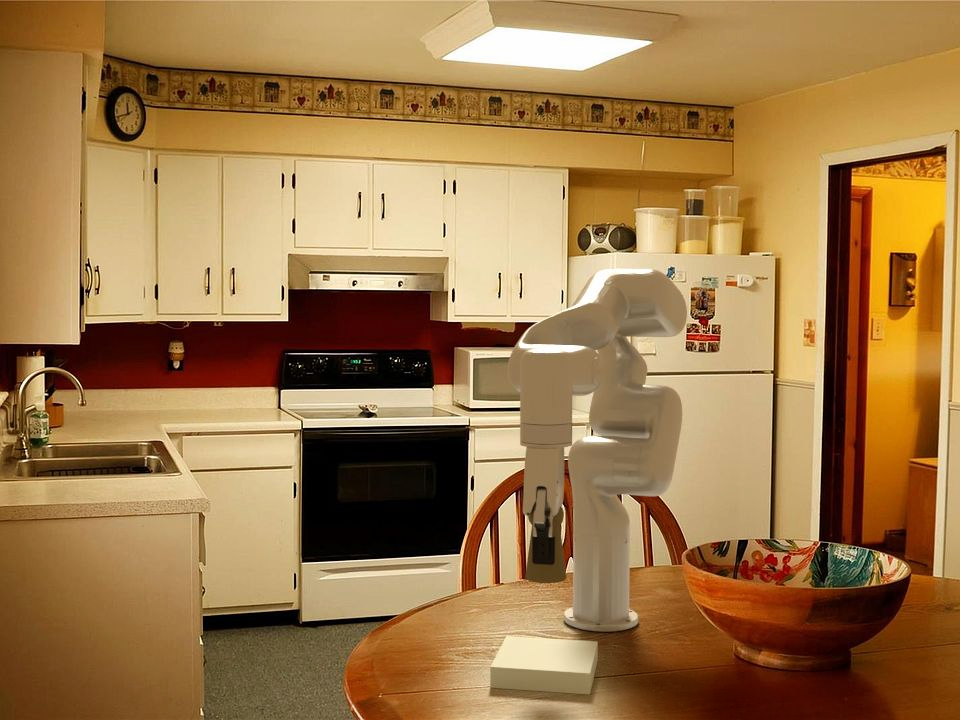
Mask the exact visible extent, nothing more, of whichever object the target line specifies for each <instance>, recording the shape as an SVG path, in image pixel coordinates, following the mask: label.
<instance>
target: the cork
mask: <svg viewBox="0 0 960 720" xmlns="http://www.w3.org/2000/svg"><path fill="white" fill-rule="evenodd" d="M533 507H534V506H533ZM545 515H550V511H545ZM533 516H534V509H533V510H532V512H531V513H530V514H529V515H528V516H527V517H528V521H529V523H530V524H531V531H530V536H529V537H530V538H529V539H530V540H529V546H528V552H527V560H526V561H527V562H526V567H525V575H524V576H525V577H524V578H525V580H527V581H529V582H533V583H537V584H538V583H539V584H555V583H561V582H564V581H566V580H567V572H566V571H567V570H566V564H565V555H564V548H563V546H564V545H563V539H562V531H561V525H562V524H563V521H564V517H565V512H564V509H563V506H562V507H561V506H560V509H559V512H558V513H557V514H556V515H555V516H554V518H553V536H554V537H555V563H554V564H553V565H544V564H534V563H533V562H532V536H533V520H534V517H533ZM546 521H548V523H549V519H546ZM548 526H549V525H548Z"/></svg>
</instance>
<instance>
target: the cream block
mask: <svg viewBox="0 0 960 720" xmlns="http://www.w3.org/2000/svg"><path fill="white" fill-rule="evenodd" d="M598 645H599V642H598V641H596V640H578V639H563V638H545V637H531V636H530V637H529V636H528V637H527V636H515V635H514V636H513V635H512V636H511V635H506V636H505V638H504V640H503V642H502V644H501V646H500V647H499V649H498V651H497V653H496V655H495V657H494V659H493V661H492V663H491V665H490V666H489V667H490V668H489V669H490V674H489V675H490V676H489V677H490V678H489V679H490V681H489V683H490V684H489V686H490V688H491V689H505V690H517V691H519V690H520V691H533V692H544V693H546V692H547V693H562V694H563V693H564V694H576V695H591V691H592V686H593V683H594V678H595V673H596V669H597V665H598V660H599V657H598V655H599V654H598V650H599V648H598V647H599V646H598Z"/></svg>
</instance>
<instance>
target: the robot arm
mask: <svg viewBox="0 0 960 720" xmlns="http://www.w3.org/2000/svg"><path fill="white" fill-rule="evenodd" d="M687 307H688V306H687V304H686V300H685V298H684V295H683V293H682V292H681V291H680V289H679V288H678V286H677V285H676V284H675V283H674V282H673V280H672V279H671V278H670V277H668V275H666V274H665V273H663V272H662V271H660V270H659V269H658V270H657V269H653V268H633V269H632V268H614V269H610V268H609V269H603V270H600V271H598V272H596V273H594V274H593V275H591V277H590V278H589V279H588V280H587V282H586V283H585V285H584V286H583V288H582V290H581V291H580V293H579V294H578V296H577V298H576V299H575V300H574V302H573V304H572V305H571V307H568V308H566V309H564V310H561V311H559V312H557V313H555V314H553V315H551V316H548V317H547V318H544V319H542V320H539V321H538V322H536V323H534V324H533V325H531V326H530V327H528V328H527V329H526V330H525V331H524V333H523V334H522V335H521V336H520V338H519V339H518V341H517V342H516V344H515V345H514V347H513V349H512V350H511V353H510V356H509V359H508V361H507V362H508V363H507V378H508V380H509V383H510V386H511V387H512V388H513V389H515V390H516V391H517V392H519V398H520V399H519V400H520V401H519V403H520V405H519V418H520V419H519V425H520V426H519V428H520V429H519V444H520V446H523V447H524V448H525V447H526V449H525V456H524V457H525V458H524V474H523V496H522V497H523V499H522V513H523V515H524V516H527V517H528V515H529V514H530V513H531V512H532V510H533V509H534V516H533V517H534V520H533V536H532V562H533V563H534V564H544V565H553V564H554V563H555V537H554V536H553V518H554V516H555V515H556V514H557V513H558V512H559V509H560V506H561V507H562V508H563V505H564V503H563V502H564V493H565V492H564V491H565V448H568V447H570V449H569V452H568V458H567V465H568V466H567V467H568V472H569V473H568V474H569V481H570V485H571V492H572V506H573V509H572V510H573V512H572V513H573V514H572V515H573V519H572V520H573V521H572V524H573V525H572V527H573V530H572V531H573V534H572V535H573V536H572V537H573V543H572V544H573V545H572V548H573V552H572V554H573V556H572V557H573V558H572V561H573V563H572V568H573V569H572V570H573V571H572V607H570V608H567V609H566V610H565V611H564V612H563V621H564V622H565V623H566V624H567V625H568V626H569V627H573V628H576V629H580V630H584V631H591V632H606V633H607V632H621V631H626V630H628V629H632V628H634V627H636V626H637V625H638V624H639V614H638V613H636V611H634V610H633V609H630V568H631V567H630V562H631V561H630V559H631V558H630V555H631V553H630V552H631V551H630V550H631V549H630V547H631V545H630V543H631V521H630V516H629V514H628V511H627V509H626V507H625V506H624V504H623V503H622V501H621V500H620V498H619V497H618V495H629V496H640V497H658V496H662V495H664V494H665V493H666V492H667V491H668V490H669V488H670V486H671V484H672V481H673V475H674V472H675V470H674V469H675V464H676V459H677V454H678V447H679V442H680V437H681V431H682V426H683V425H682V424H683V404H682V399H681V397H680V395H679V394H678V392H677V391H676V390H675V389H674V388H672V387H670V386H668V385H667V386H666V385H659V384H646V380H647V375H648V365H647V364H648V363H646V360H645V359H644V357H643V355H642V354H641V352H639V350H638V349H637V348H636V346H634V345H633V344H632V343H631V342H630V341H629V339H628V337H633V338H636V337H637V338H639V337H641V338H671V337H676V336H678V335H679V334H680V333H682V331H683V330H684V328H685V326H686V323H687V318H688V309H687ZM591 394H592V397H591V402H590V407H589V412H588V413H589V414H588V420H589V421H588V423H589V425H590V428H591V430H592V431H593V432H594V433H595V434H597V435H590V436H584V437H581V438H579V439H577V440H576V441H575V442H574V443H573V397H583V396H584V397H585V396H587V395H588V396H589V395H591ZM533 506H534V507H533ZM545 511H550V515H545ZM546 519H549V523H548V521H546ZM548 525H549V526H548Z"/></svg>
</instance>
